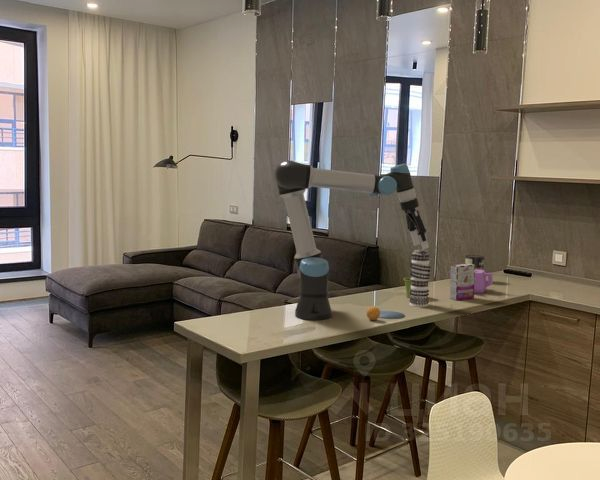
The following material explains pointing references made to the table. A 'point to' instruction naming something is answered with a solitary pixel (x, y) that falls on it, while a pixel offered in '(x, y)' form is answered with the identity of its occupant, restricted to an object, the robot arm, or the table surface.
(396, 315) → the disc
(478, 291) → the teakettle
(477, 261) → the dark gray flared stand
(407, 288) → the plant pot
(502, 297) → the table surface
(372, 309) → the ball
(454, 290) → the candy bar box
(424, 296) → the decorative candle
